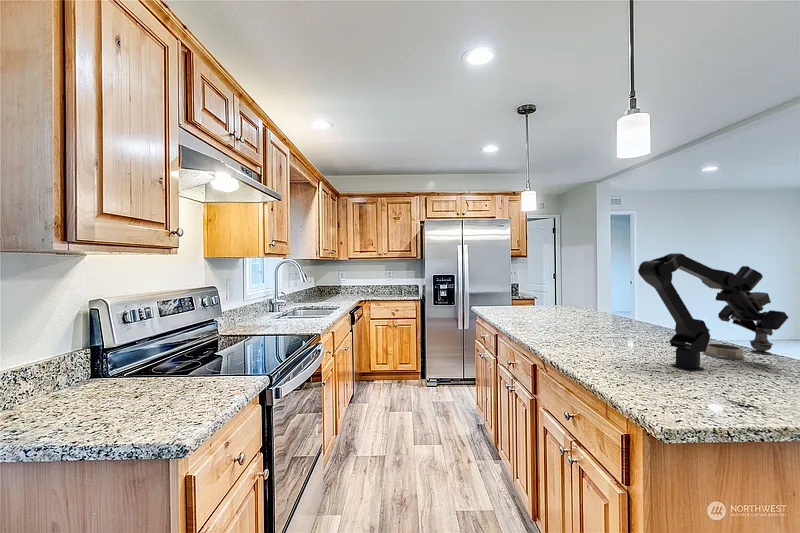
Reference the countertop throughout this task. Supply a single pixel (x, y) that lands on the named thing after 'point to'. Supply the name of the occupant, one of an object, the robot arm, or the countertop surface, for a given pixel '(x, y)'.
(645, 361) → the countertop surface
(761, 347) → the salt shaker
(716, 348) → the ring holder
